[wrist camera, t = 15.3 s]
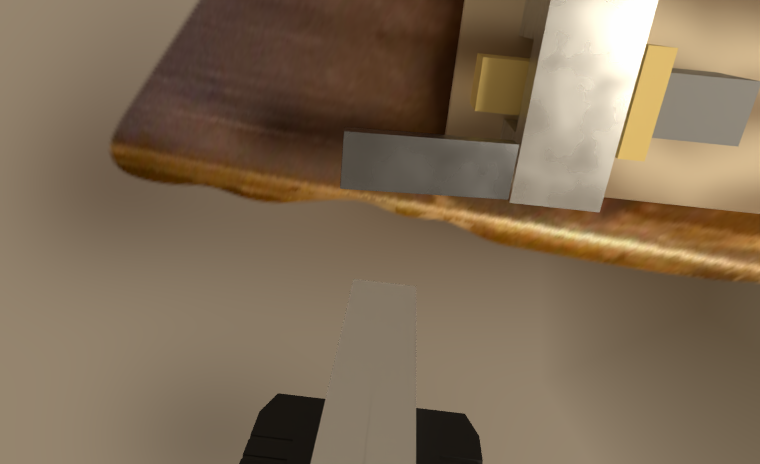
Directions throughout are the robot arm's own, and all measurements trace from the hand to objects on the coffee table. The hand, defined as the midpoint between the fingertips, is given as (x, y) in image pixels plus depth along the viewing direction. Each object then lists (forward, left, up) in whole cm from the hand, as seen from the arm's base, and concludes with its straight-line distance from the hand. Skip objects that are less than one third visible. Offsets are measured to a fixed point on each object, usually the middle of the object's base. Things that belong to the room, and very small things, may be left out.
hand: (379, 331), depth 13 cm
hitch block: (-4, +9, -24) cm, 26 cm away
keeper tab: (0, +1, -16) cm, 16 cm away
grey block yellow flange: (-4, +11, -23) cm, 26 cm away
